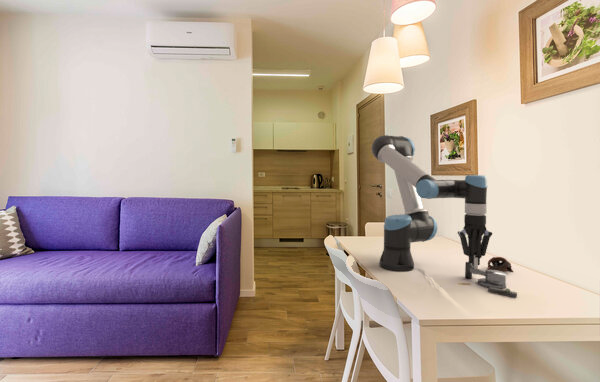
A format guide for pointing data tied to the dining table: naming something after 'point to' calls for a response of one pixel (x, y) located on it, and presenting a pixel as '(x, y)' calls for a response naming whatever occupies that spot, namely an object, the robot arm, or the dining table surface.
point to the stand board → (498, 291)
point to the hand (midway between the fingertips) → (473, 273)
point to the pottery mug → (499, 264)
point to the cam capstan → (487, 276)
